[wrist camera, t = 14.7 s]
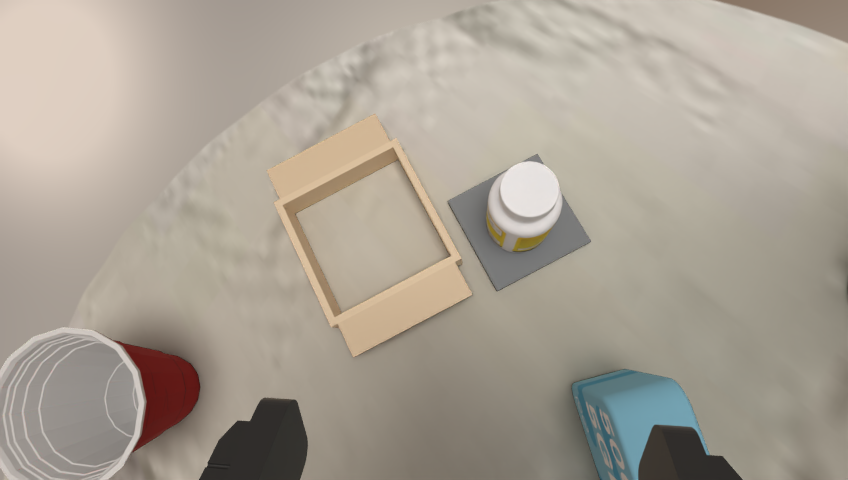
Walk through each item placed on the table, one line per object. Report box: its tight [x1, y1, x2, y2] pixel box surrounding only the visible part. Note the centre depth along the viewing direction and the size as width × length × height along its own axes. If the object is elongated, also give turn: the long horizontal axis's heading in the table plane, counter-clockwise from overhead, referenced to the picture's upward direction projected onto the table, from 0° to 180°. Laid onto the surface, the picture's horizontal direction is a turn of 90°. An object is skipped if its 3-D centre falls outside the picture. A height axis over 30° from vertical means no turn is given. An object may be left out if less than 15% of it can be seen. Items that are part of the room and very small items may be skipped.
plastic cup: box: [0, 327, 200, 480], centre depth 37 cm, size 11×11×12 cm
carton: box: [267, 114, 472, 357], centre depth 43 cm, size 12×18×3 cm, turn 27°
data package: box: [572, 369, 710, 480], centre depth 33 cm, size 12×4×12 cm, turn 15°
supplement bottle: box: [486, 161, 562, 253], centre depth 38 cm, size 5×5×10 cm
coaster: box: [448, 154, 591, 291], centre depth 43 cm, size 9×9×1 cm
